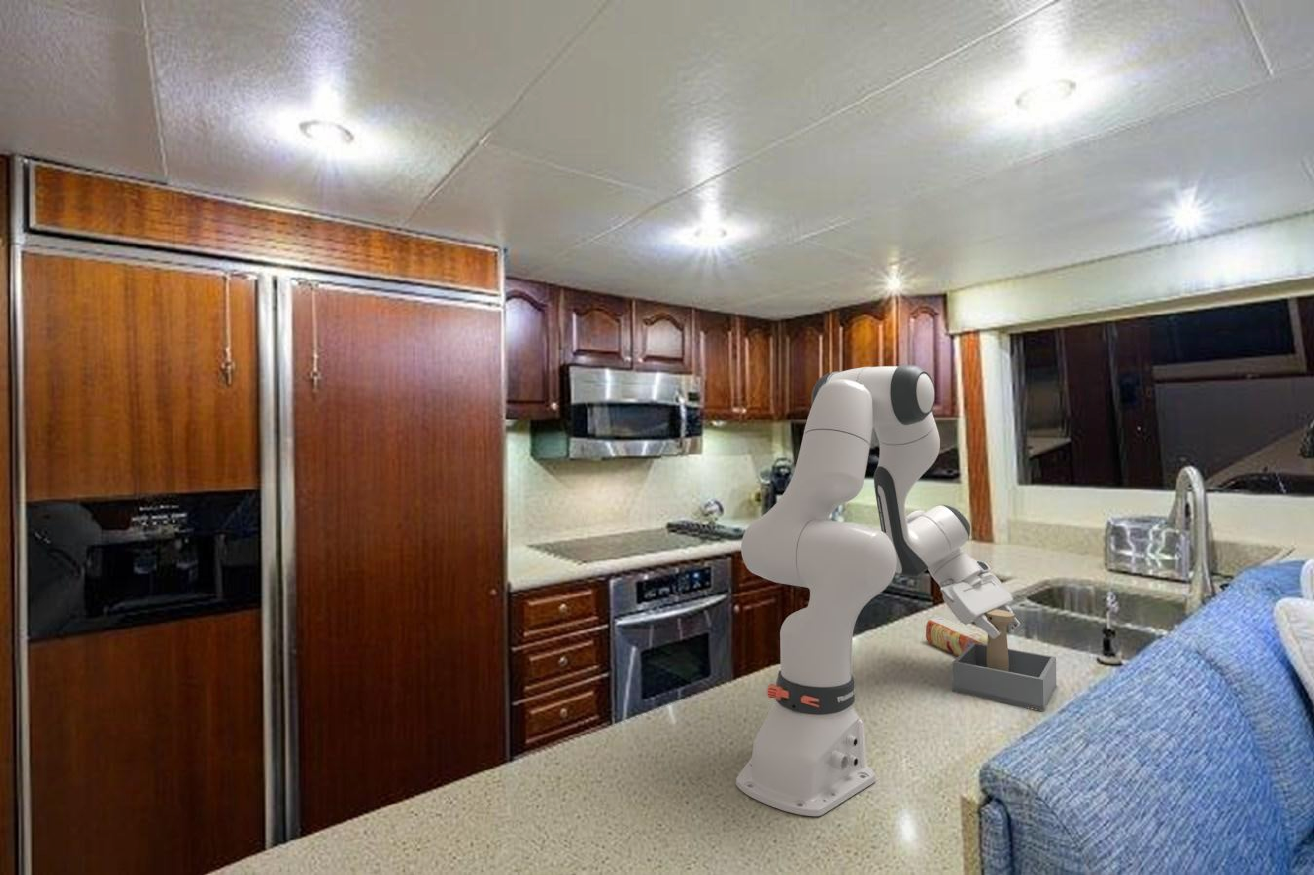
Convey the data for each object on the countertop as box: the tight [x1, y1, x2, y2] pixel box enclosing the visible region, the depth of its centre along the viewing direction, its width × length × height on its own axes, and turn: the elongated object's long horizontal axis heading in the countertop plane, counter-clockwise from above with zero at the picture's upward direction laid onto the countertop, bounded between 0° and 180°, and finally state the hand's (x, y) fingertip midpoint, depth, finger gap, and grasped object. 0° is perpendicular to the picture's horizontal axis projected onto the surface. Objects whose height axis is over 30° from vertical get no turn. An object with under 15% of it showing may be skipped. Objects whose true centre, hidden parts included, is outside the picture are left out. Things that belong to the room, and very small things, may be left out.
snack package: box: [925, 617, 988, 657], centre depth 153 cm, size 21×7×7 cm, turn 14°
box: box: [952, 642, 1057, 711], centre depth 133 cm, size 16×16×6 cm
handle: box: [984, 609, 1016, 671], centre depth 132 cm, size 5×6×15 cm
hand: (1007, 631), depth 132 cm, fingers open, 8 cm apart
